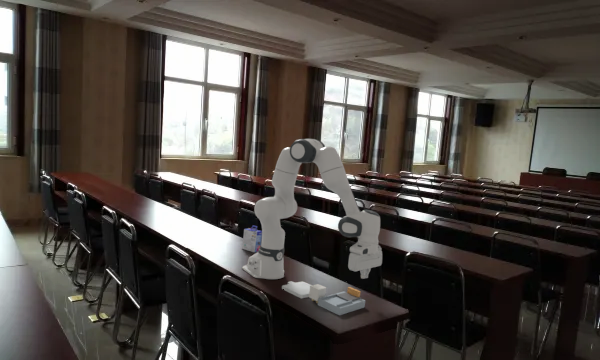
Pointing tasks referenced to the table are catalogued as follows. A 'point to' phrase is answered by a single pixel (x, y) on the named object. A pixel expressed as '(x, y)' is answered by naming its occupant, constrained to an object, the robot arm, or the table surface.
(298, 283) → the mounting plate
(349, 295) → the shutter
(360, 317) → the table surface
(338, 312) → the socket
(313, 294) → the white block
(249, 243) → the ink cartridge box
